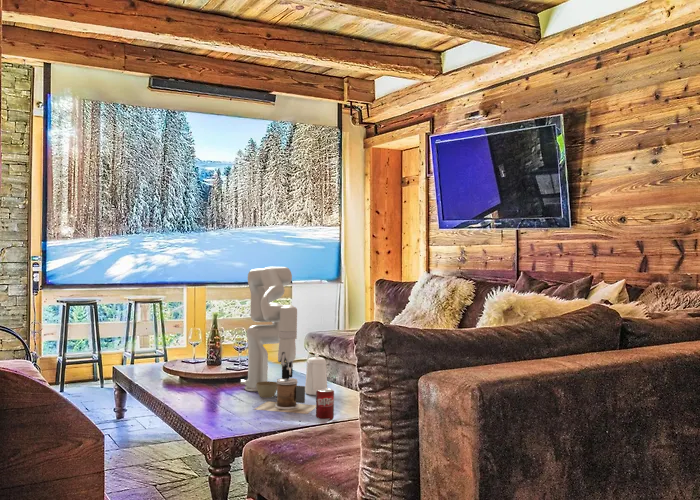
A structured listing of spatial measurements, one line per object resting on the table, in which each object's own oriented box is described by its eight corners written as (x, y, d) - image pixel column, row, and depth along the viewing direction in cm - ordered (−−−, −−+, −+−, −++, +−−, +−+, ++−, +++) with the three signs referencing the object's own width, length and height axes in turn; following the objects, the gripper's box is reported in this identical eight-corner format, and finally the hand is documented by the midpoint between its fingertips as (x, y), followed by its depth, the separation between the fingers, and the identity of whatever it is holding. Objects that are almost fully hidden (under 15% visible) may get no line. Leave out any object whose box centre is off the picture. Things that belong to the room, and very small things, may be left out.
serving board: (253, 412, 279) (253, 409, 279) (267, 403, 294) (267, 401, 294) (307, 416, 273) (307, 413, 273) (318, 408, 289) (318, 405, 289)
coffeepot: (297, 398, 307) (298, 357, 307) (311, 387, 332) (312, 350, 332) (320, 399, 305) (321, 359, 305) (332, 389, 329) (333, 351, 329)
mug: (271, 409, 280) (271, 383, 280) (279, 403, 290) (280, 379, 290) (300, 411, 277) (301, 385, 277) (307, 406, 287) (308, 380, 287)
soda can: (315, 417, 272) (316, 388, 273) (333, 417, 273) (333, 388, 273) (316, 421, 265) (316, 391, 265) (334, 421, 266) (334, 391, 266)
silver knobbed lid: (274, 382, 281) (274, 368, 281) (281, 379, 289) (281, 365, 289) (293, 384, 279) (293, 369, 279) (299, 380, 287) (300, 366, 287)
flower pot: (281, 397, 308) (281, 382, 308) (271, 401, 299) (272, 386, 299) (262, 395, 312) (262, 380, 312) (252, 400, 302) (252, 384, 302)
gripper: (286, 332, 293) (285, 374, 293) (272, 337, 277) (272, 381, 277) (302, 333, 291) (301, 375, 291) (289, 337, 275) (288, 382, 275)
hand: (287, 377), depth 284 cm, fingers closed on silver knobbed lid, 3 cm apart
